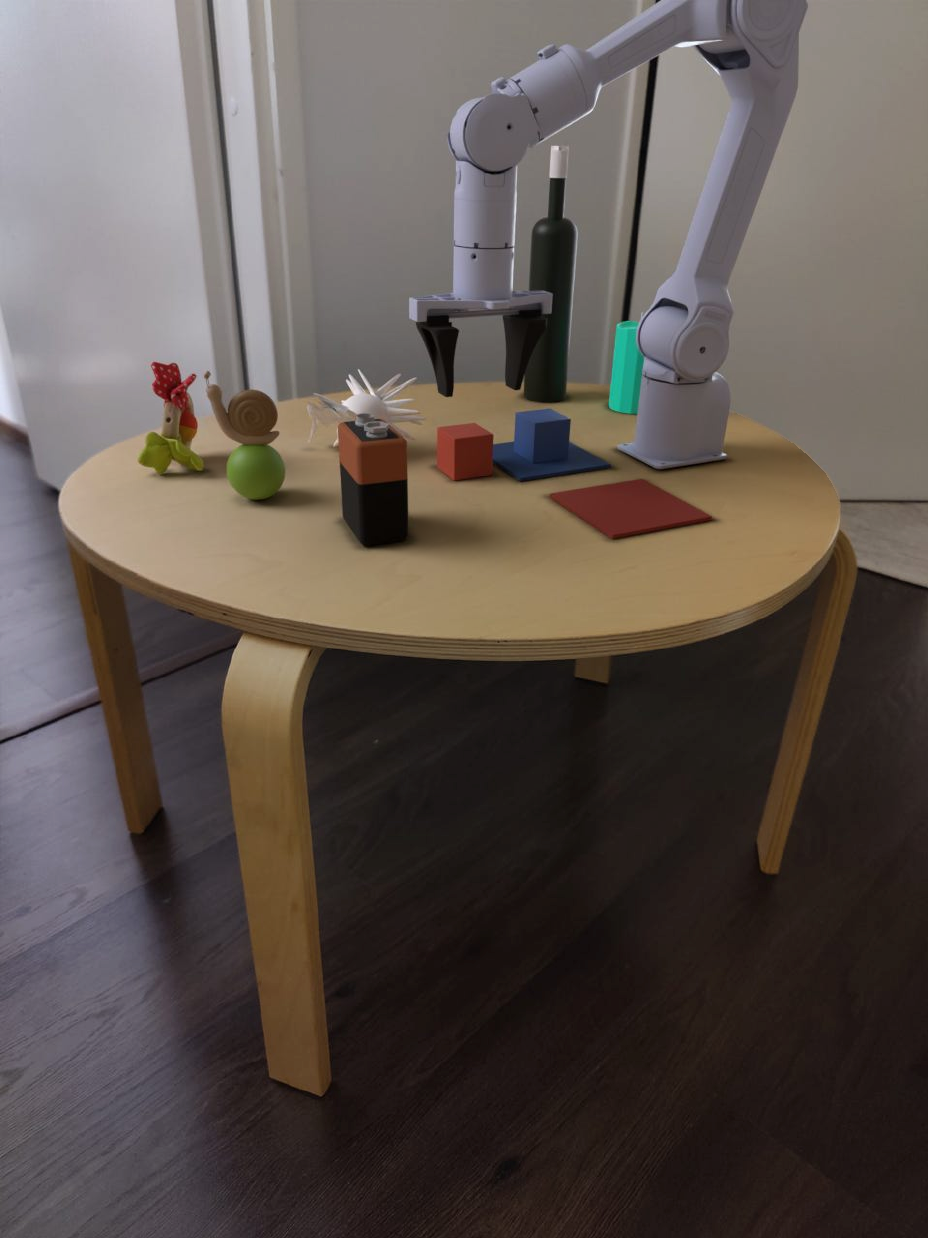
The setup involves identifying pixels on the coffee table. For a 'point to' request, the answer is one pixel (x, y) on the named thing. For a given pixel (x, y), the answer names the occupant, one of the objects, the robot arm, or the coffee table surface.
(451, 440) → the red block
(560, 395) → the wine bottle
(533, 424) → the blue block
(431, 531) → the coffee table surface
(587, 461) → the blue mat
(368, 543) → the battery
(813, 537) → the coffee table surface
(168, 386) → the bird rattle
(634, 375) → the candle
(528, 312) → the robot arm
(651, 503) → the red mat
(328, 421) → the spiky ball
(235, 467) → the snail figurine
